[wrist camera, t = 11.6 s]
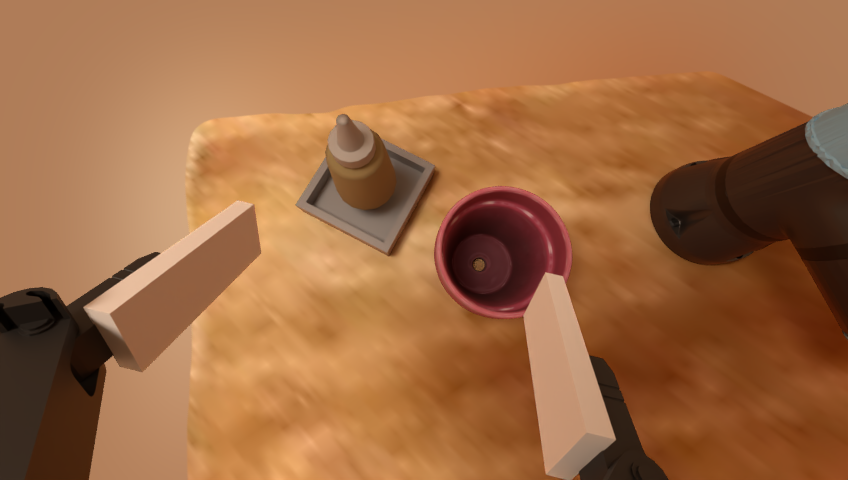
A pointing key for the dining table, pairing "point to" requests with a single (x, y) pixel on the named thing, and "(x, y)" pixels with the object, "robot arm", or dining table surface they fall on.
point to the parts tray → (372, 224)
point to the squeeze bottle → (359, 165)
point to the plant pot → (500, 250)
